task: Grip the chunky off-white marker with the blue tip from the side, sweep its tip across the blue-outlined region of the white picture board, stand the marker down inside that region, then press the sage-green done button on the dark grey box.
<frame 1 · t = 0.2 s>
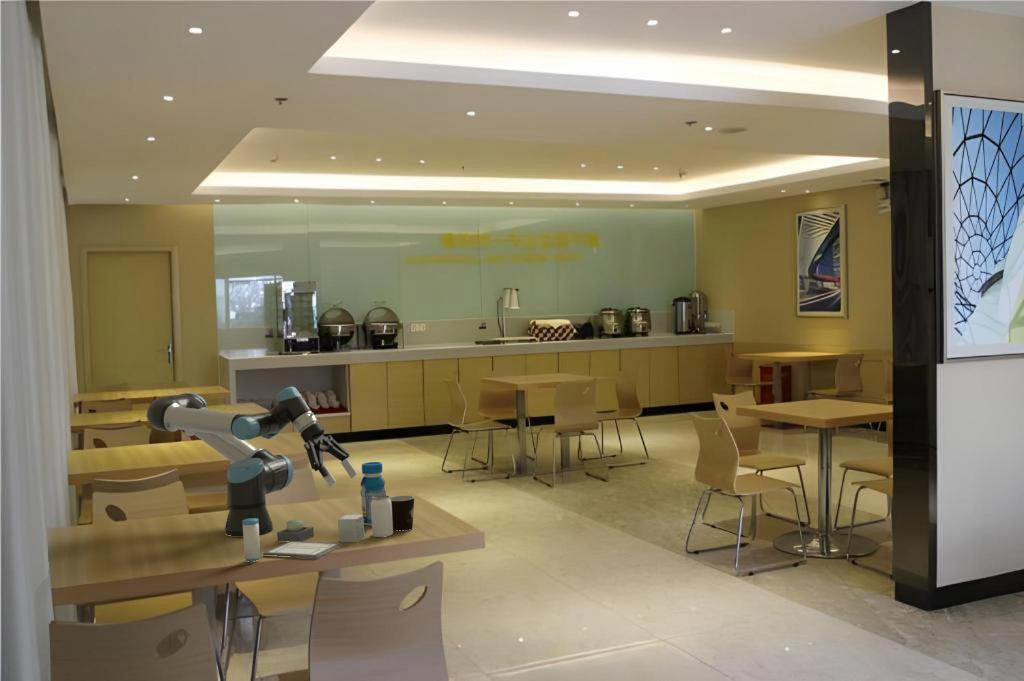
hand: (344, 480, 305), 15 cm above the table, tool tilted 35°, fingers open, 13 cm apart
picture board: (302, 551, 274), on the table
can: (382, 536, 290), on the table
beverage bottle: (375, 523, 307), on the table
button box: (295, 539, 290), on the table
product box: (352, 540, 285), on the table
coffee mug: (405, 528, 298), on the table
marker: (252, 561, 266), on the table
done button: (295, 526, 290), point 4 cm above the table, slide at 0.0 cm
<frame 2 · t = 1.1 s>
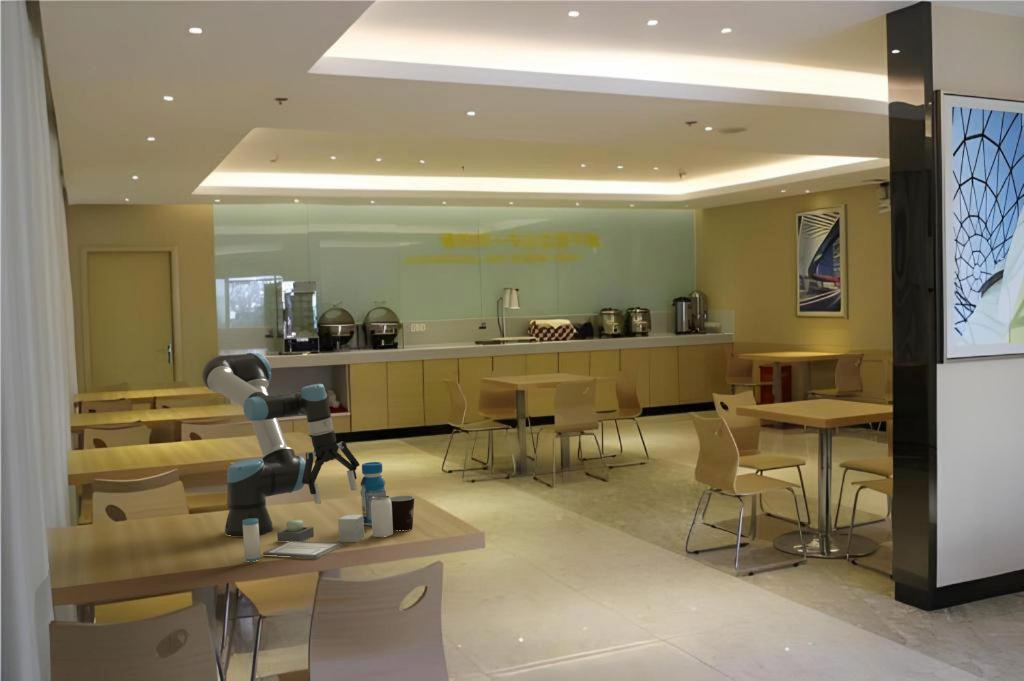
hand: (336, 496, 295), 12 cm above the table, tool pointing down, fingers open, 13 cm apart
nothing on the table moved.
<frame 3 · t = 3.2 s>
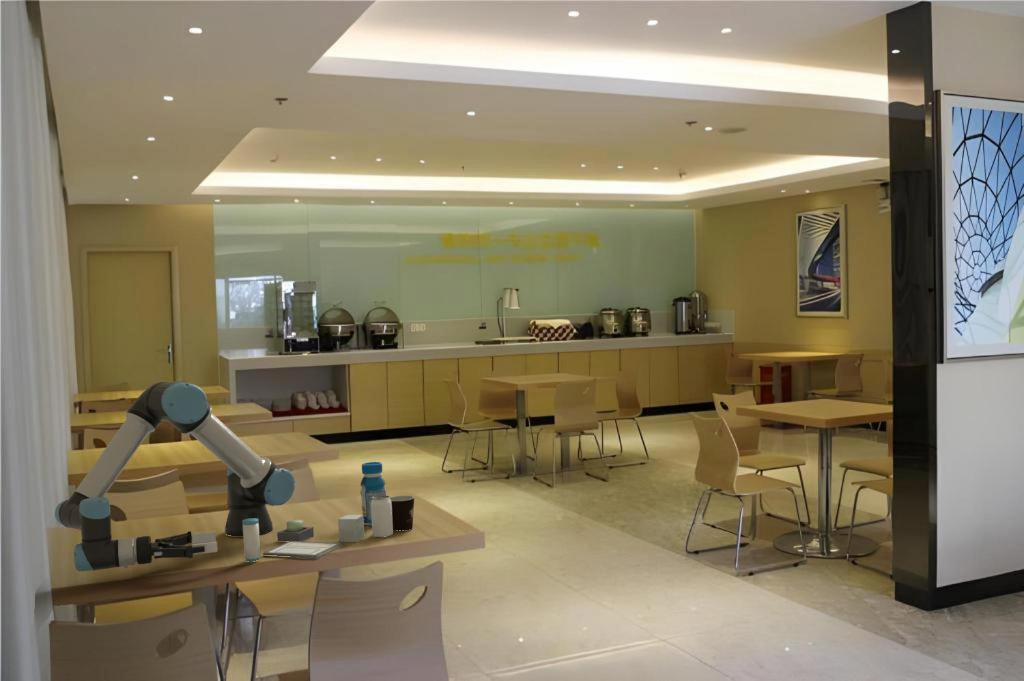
hand: (216, 541, 263), 7 cm above the table, tool horizontal, fingers open, 13 cm apart
nothing on the table moved.
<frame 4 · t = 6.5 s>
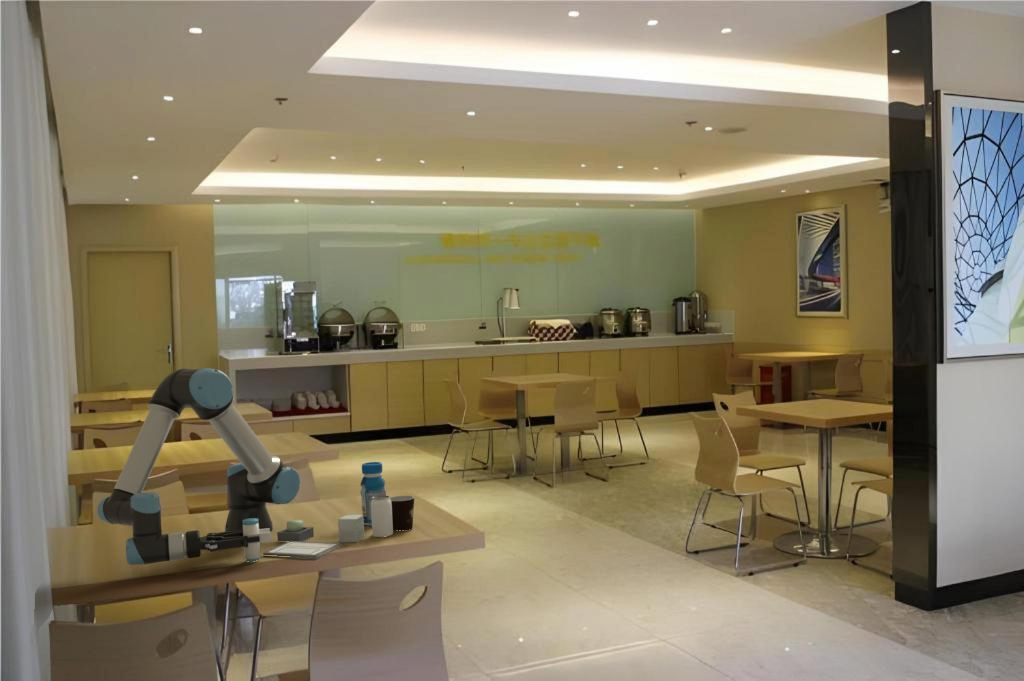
hand: (270, 534, 268), 7 cm above the table, tool horizontal, fingers closed on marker, 4 cm apart
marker: (252, 561, 266), on the table, touching gripper
everything else where it was.
when the fingers open (9 cm above the table, at t = 11.8 s): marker stays where it is, resting on picture board.
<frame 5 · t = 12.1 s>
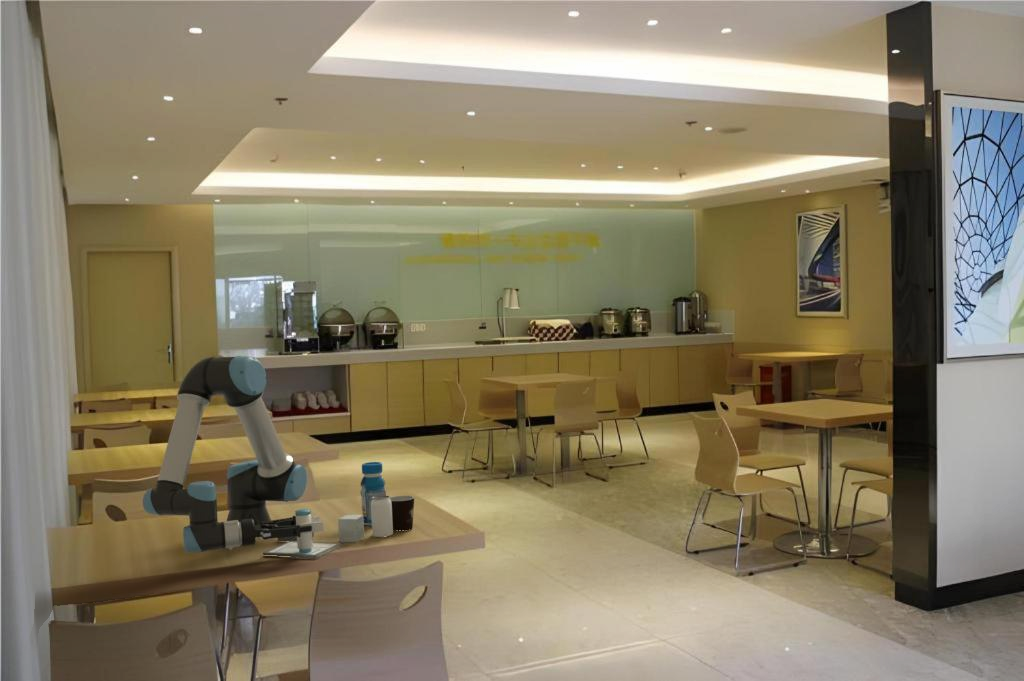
hand: (320, 523, 272), 9 cm above the table, tool horizontal, fingers open, 8 cm apart
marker: (305, 551, 270), point 1 cm above the table, touching picture board
everything else where it was.
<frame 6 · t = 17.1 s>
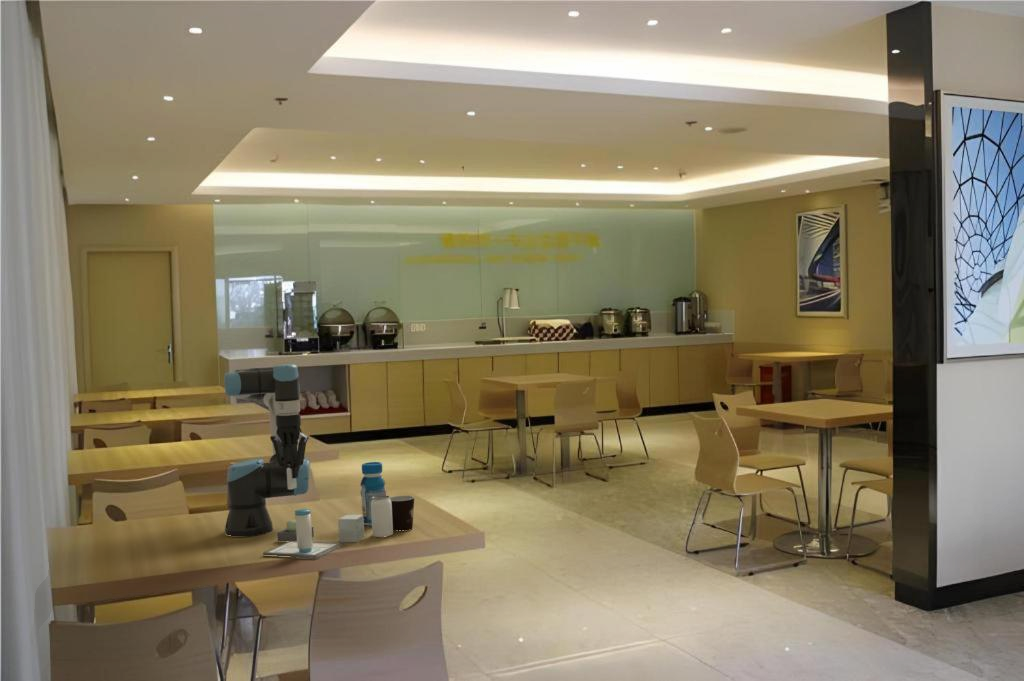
hand: (292, 488, 289), 16 cm above the table, tool pointing down, fingers closed
nothing on the table moved.
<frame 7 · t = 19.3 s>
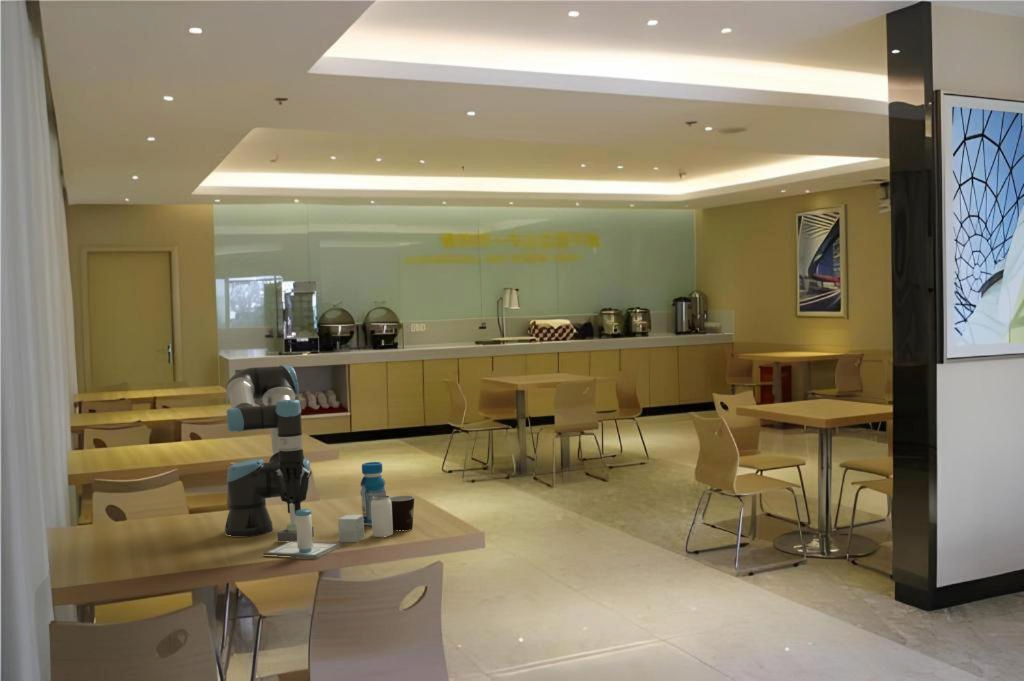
hand: (295, 523, 290), 5 cm above the table, tool pointing down, fingers closed
done button: (295, 529, 290), point 3 cm above the table, slide at 0.9 cm, touching gripper
everything else where it was.
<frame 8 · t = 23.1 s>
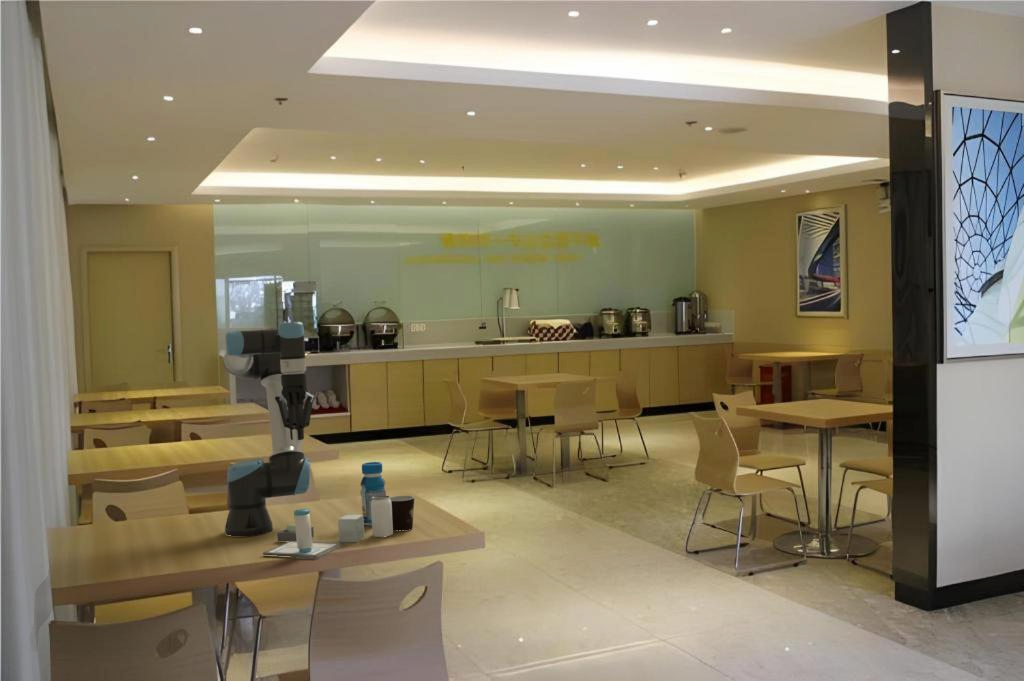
hand: (298, 450, 279), 29 cm above the table, tool pointing down, fingers closed
done button: (295, 529, 290), point 3 cm above the table, slide at 1.1 cm
everything else where it was.
at the end: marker inside the target area (2.9 cm from its centre), point 1.1 cm above the table; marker tilted 2°; done button slide at 1.1 cm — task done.
